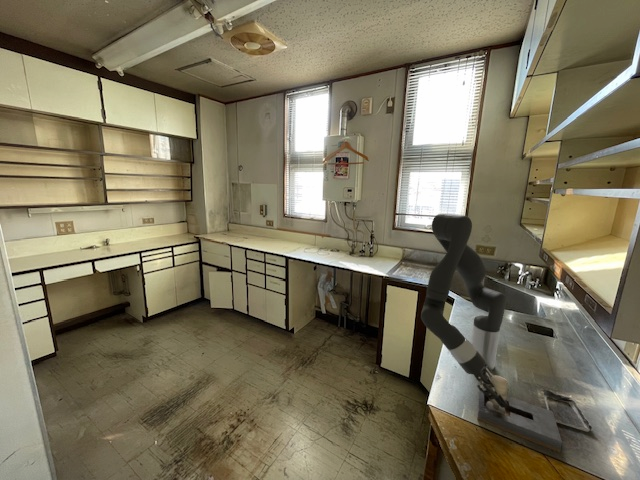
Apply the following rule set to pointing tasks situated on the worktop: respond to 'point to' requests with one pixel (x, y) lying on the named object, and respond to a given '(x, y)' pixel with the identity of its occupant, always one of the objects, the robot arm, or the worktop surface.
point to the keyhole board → (522, 421)
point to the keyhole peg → (501, 387)
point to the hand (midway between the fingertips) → (504, 400)
